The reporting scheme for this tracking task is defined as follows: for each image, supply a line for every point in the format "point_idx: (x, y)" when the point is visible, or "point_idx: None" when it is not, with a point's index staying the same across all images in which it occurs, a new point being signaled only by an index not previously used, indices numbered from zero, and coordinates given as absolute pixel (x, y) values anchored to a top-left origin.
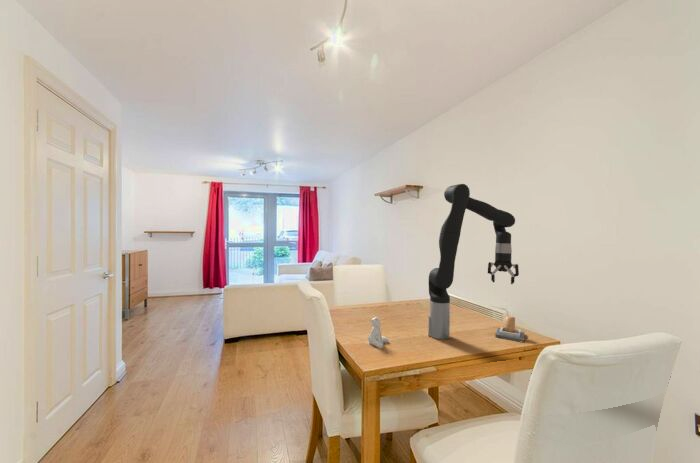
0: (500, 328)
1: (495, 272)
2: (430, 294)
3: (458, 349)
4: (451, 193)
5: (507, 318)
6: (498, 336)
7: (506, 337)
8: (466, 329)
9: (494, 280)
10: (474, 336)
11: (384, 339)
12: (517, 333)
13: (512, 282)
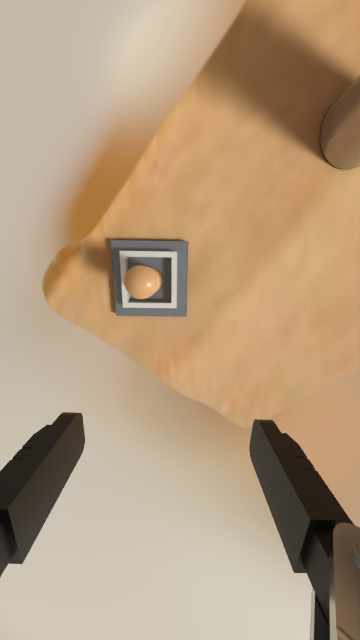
0: (179, 313)
1: (339, 637)
2: None
3: (283, 23)
4: None
5: (150, 269)
6: (179, 241)
7: (157, 241)
8: (271, 265)
9: (257, 458)
10: (244, 208)
11: None
12: None
13: (51, 426)
